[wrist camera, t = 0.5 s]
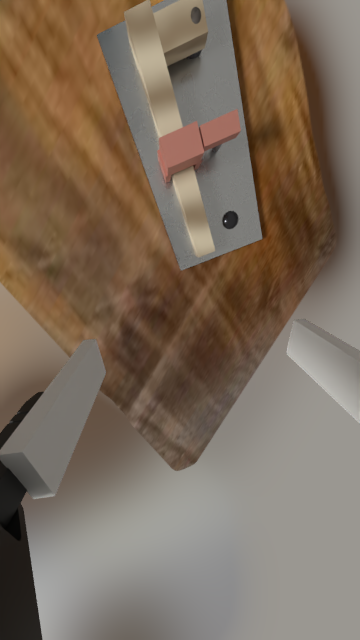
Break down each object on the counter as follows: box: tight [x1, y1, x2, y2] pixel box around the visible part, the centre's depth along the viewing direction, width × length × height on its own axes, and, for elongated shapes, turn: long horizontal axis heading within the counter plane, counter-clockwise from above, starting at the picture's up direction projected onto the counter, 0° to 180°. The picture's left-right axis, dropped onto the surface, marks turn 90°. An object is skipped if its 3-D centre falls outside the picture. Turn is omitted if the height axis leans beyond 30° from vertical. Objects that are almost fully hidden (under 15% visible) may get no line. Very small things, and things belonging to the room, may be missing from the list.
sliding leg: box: [157, 109, 241, 183], centre depth 24 cm, size 3×10×6 cm, turn 110°
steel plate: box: [97, 0, 262, 270], centre depth 28 cm, size 30×16×1 cm, turn 20°
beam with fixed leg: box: [124, 0, 215, 257], centre depth 26 cm, size 27×8×3 cm, turn 20°
